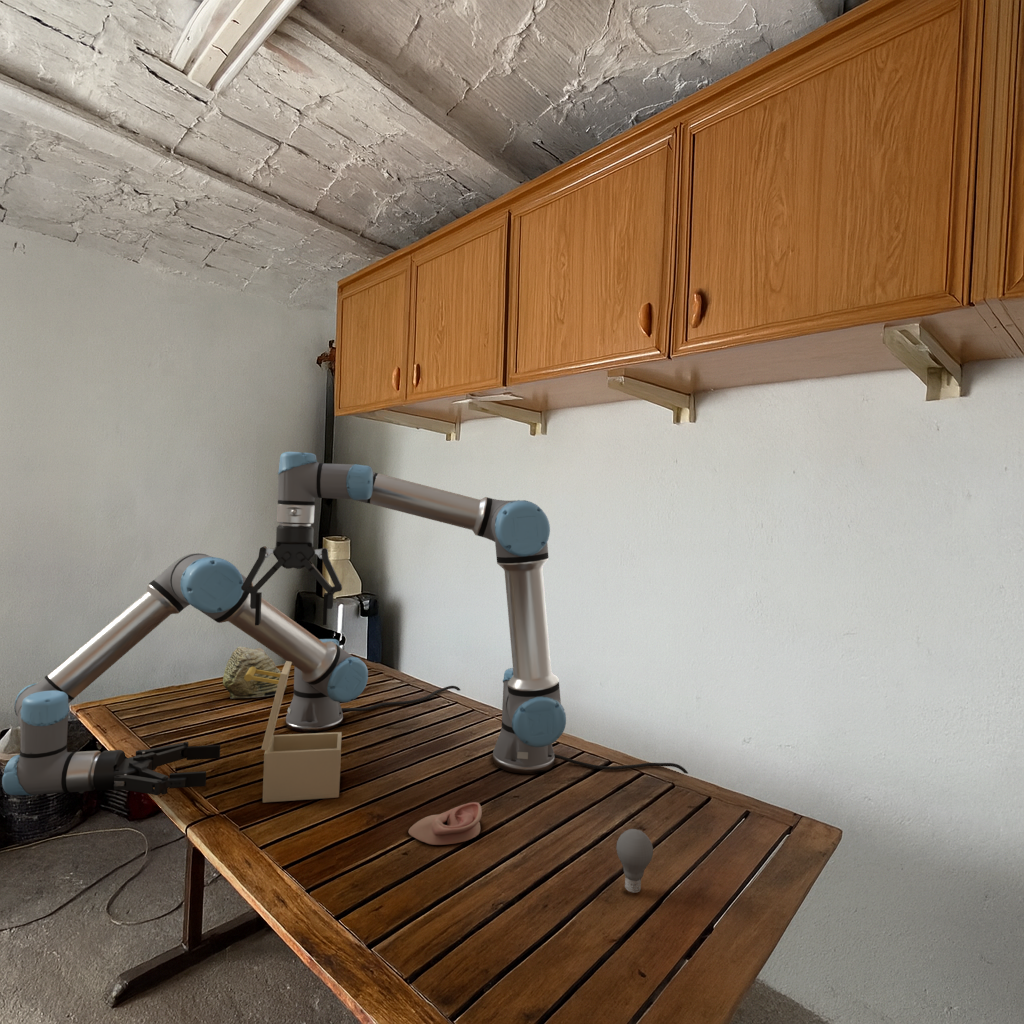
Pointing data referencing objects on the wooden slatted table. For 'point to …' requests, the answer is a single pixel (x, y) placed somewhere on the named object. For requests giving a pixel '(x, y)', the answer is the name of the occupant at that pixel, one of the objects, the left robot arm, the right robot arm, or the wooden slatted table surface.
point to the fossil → (240, 666)
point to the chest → (302, 767)
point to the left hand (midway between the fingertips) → (213, 764)
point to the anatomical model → (449, 825)
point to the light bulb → (634, 857)
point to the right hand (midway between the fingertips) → (291, 624)
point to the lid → (277, 699)
